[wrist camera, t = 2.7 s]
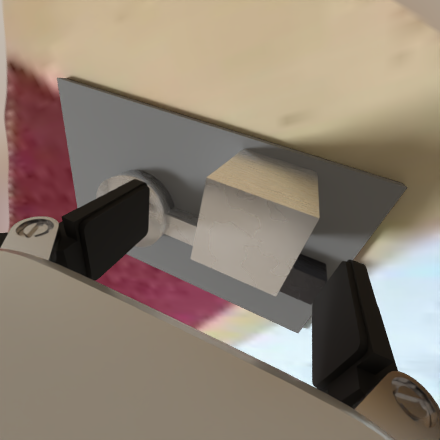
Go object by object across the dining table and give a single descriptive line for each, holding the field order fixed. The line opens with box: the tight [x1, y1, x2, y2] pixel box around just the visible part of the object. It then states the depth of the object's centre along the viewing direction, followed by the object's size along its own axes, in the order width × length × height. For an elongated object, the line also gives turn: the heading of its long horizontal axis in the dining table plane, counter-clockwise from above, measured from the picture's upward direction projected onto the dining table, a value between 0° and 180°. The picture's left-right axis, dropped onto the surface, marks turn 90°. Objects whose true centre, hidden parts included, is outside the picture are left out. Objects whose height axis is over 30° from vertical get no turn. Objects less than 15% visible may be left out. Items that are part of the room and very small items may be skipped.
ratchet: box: [96, 170, 327, 305], centre depth 18 cm, size 21×7×7 cm, turn 77°
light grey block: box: [191, 149, 319, 296], centre depth 14 cm, size 5×5×7 cm
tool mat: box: [57, 78, 407, 333], centre depth 21 cm, size 28×17×1 cm, turn 77°
